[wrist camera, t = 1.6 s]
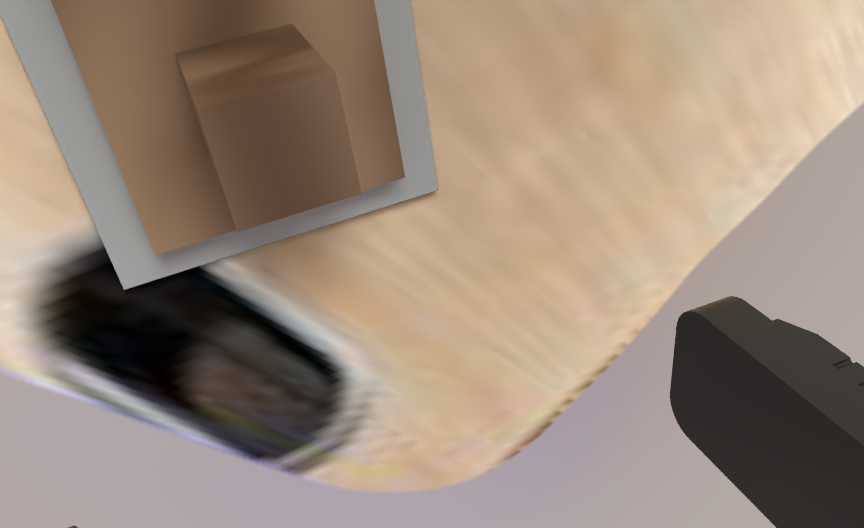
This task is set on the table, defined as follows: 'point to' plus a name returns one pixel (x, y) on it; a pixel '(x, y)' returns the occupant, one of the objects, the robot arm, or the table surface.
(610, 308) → the table surface
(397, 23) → the mat
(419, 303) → the table surface
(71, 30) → the lid
